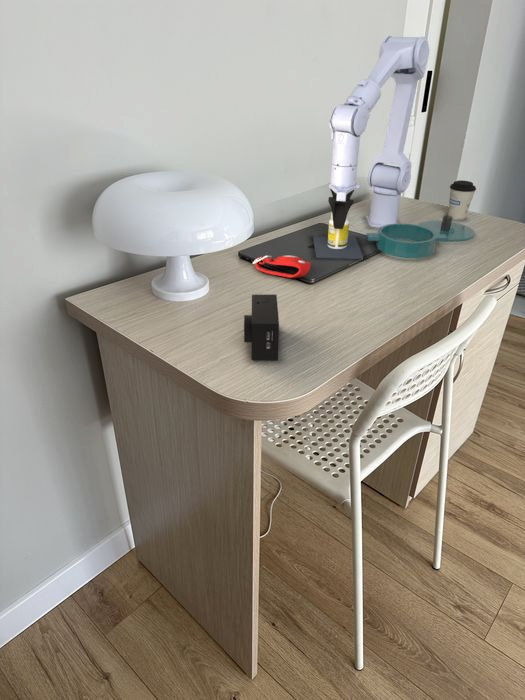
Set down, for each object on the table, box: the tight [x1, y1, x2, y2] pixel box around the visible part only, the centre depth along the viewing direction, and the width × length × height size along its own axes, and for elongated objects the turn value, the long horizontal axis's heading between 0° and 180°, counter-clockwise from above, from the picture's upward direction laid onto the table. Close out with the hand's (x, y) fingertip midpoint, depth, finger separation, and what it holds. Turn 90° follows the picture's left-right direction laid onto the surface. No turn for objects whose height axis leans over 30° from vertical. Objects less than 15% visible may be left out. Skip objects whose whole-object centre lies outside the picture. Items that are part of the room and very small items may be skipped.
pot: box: [365, 222, 448, 259], centre depth 123 cm, size 14×19×4 cm
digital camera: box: [243, 294, 280, 362], centre depth 85 cm, size 10×5×7 cm, turn 1°
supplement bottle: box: [327, 211, 350, 249], centre depth 122 cm, size 5×5×8 cm
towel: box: [312, 235, 364, 260], centre depth 125 cm, size 14×11×1 cm
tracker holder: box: [252, 254, 312, 279], centre depth 111 cm, size 12×4×10 cm
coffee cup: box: [447, 179, 477, 220], centre depth 142 cm, size 7×7×10 cm
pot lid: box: [417, 214, 475, 242], centre depth 133 cm, size 15×15×5 cm
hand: (339, 223), depth 121 cm, fingers open, 7 cm apart
